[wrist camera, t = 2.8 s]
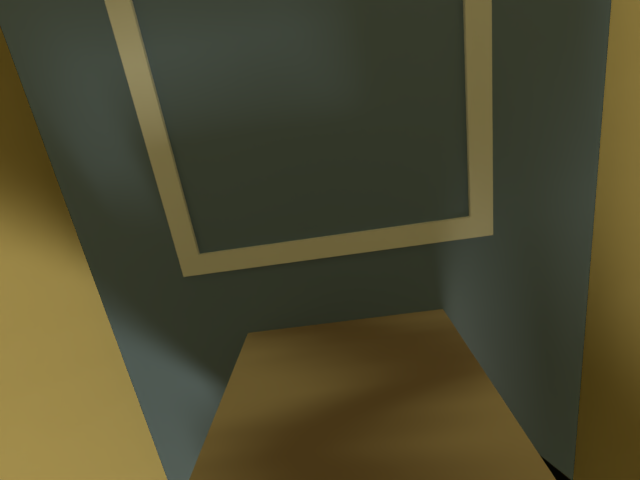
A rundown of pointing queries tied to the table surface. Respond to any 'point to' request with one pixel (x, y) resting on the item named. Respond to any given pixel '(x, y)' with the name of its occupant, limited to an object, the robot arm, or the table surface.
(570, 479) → the robot arm
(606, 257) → the table surface
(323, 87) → the board
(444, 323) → the maple cube
